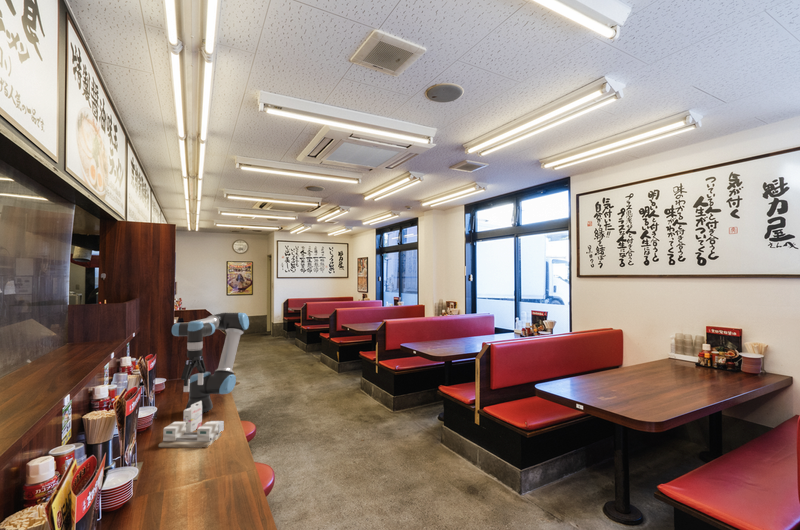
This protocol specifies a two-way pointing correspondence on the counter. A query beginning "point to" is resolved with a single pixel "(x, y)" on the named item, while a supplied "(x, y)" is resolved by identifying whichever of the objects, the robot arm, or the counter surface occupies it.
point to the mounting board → (189, 435)
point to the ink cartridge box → (193, 417)
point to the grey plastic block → (220, 425)
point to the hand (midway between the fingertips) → (193, 388)
